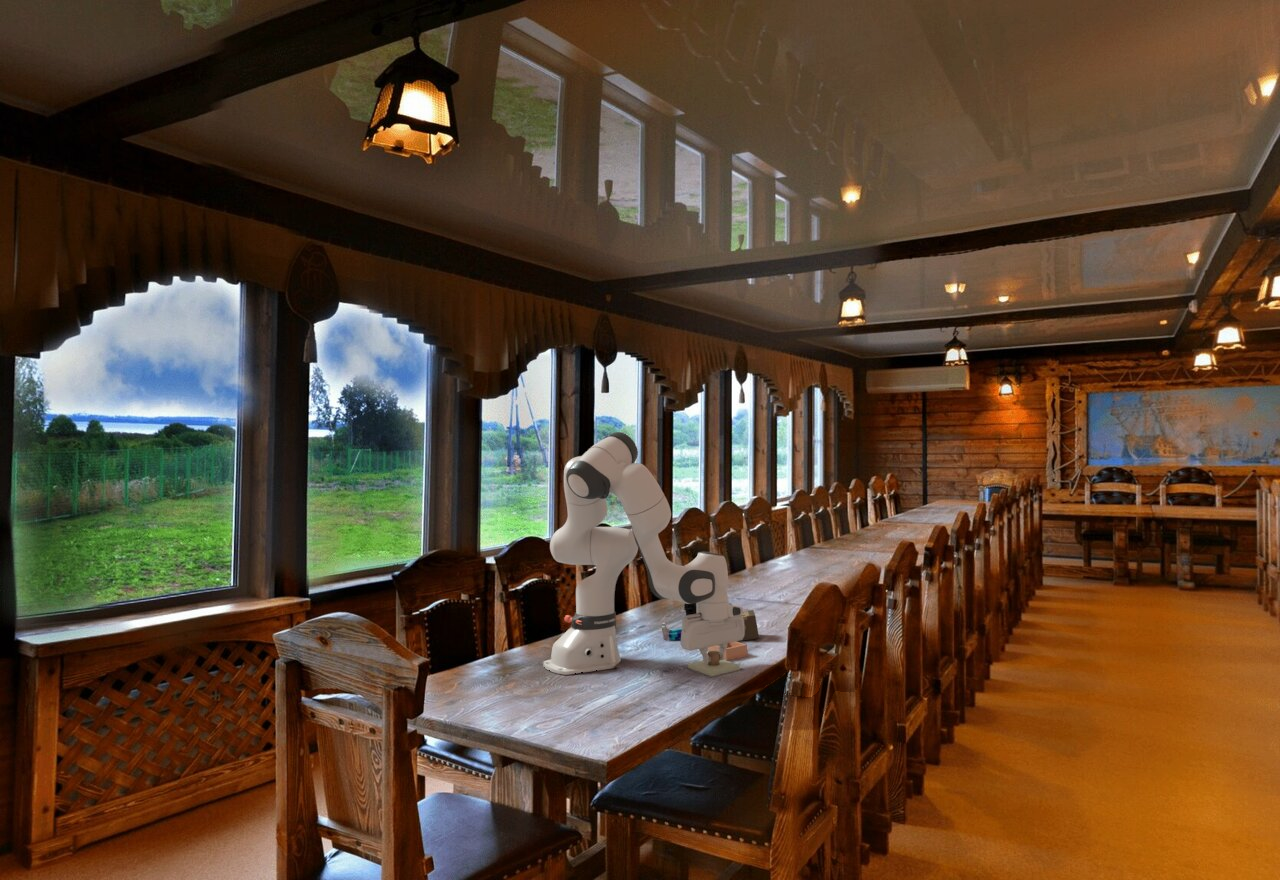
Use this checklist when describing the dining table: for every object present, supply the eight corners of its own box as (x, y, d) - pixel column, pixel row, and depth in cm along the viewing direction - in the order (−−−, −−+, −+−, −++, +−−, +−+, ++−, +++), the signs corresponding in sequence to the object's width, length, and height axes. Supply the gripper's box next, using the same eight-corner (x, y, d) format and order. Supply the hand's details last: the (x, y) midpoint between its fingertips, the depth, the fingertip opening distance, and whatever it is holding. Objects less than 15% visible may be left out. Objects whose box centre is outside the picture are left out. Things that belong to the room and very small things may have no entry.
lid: (711, 676, 203) (711, 659, 203) (688, 667, 211) (687, 651, 211) (739, 669, 209) (739, 653, 209) (715, 661, 217) (715, 645, 217)
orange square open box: (726, 663, 218) (726, 649, 218) (708, 657, 224) (708, 643, 224) (747, 658, 222) (747, 644, 222) (729, 652, 229) (728, 639, 229)
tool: (684, 638, 277) (678, 602, 272) (698, 603, 297) (693, 569, 292) (705, 639, 274) (700, 603, 269) (718, 603, 294) (713, 569, 289)
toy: (663, 616, 262) (750, 602, 260) (667, 638, 261) (754, 625, 259) (660, 635, 235) (757, 620, 233) (664, 660, 235) (761, 645, 233)
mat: (711, 680, 201) (711, 677, 201) (683, 670, 211) (683, 667, 211) (745, 672, 208) (745, 669, 208) (716, 663, 218) (716, 660, 218)
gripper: (689, 617, 201) (691, 670, 201) (747, 607, 213) (748, 657, 213) (675, 614, 207) (676, 665, 206) (732, 604, 218) (733, 652, 218)
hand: (713, 661), depth 210 cm, fingers closed on lid, 3 cm apart
